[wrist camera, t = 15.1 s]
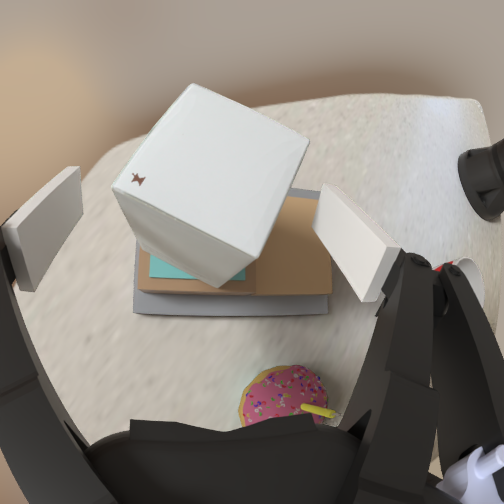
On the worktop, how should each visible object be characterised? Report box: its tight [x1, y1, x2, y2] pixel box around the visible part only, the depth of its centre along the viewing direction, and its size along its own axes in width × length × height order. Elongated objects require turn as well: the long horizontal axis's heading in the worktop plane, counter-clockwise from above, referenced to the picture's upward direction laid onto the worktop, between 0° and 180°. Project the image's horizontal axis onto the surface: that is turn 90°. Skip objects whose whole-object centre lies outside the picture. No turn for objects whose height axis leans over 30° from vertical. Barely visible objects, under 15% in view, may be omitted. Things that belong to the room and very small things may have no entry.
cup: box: [432, 257, 485, 312], centre depth 31 cm, size 8×8×10 cm
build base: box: [133, 188, 332, 316], centre depth 28 cm, size 20×14×6 cm
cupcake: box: [238, 365, 341, 427], centre depth 23 cm, size 9×8×12 cm
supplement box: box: [111, 83, 310, 288], centre depth 19 cm, size 7×7×13 cm
